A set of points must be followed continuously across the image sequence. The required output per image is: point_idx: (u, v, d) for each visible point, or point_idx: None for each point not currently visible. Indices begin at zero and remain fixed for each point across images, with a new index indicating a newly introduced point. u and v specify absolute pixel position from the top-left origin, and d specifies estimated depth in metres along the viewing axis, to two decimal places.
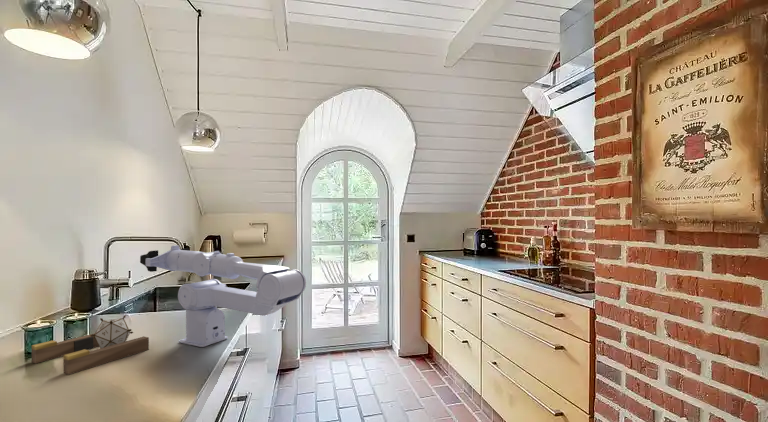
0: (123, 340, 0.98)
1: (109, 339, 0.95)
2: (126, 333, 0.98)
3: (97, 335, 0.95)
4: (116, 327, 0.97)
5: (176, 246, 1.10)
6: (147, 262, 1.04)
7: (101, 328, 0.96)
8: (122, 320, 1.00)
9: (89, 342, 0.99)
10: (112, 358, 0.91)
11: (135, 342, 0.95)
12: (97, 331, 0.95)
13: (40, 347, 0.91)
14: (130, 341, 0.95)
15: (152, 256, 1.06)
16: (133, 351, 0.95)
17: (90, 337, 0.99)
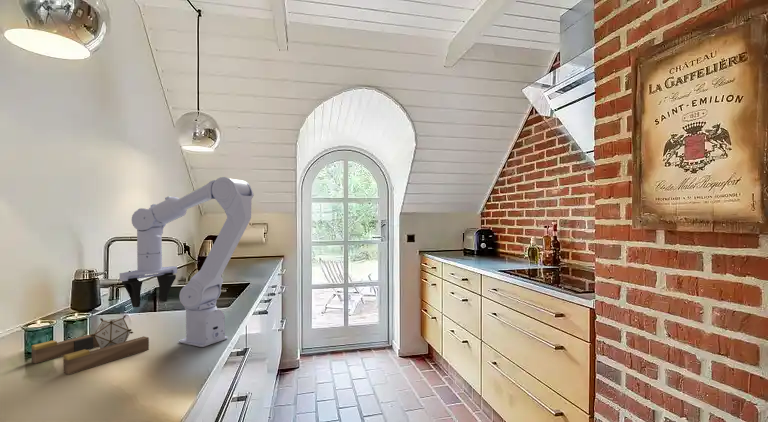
0: (123, 340, 0.98)
1: (109, 339, 0.95)
2: (126, 333, 0.98)
3: (97, 335, 0.95)
4: (116, 327, 0.97)
5: None
6: (122, 278, 1.00)
7: (101, 328, 0.96)
8: (122, 320, 1.00)
9: (89, 342, 0.99)
10: (112, 358, 0.91)
11: (135, 342, 0.95)
12: (97, 331, 0.95)
13: (40, 347, 0.91)
14: (130, 341, 0.95)
15: None
16: (133, 351, 0.95)
17: (90, 337, 0.99)
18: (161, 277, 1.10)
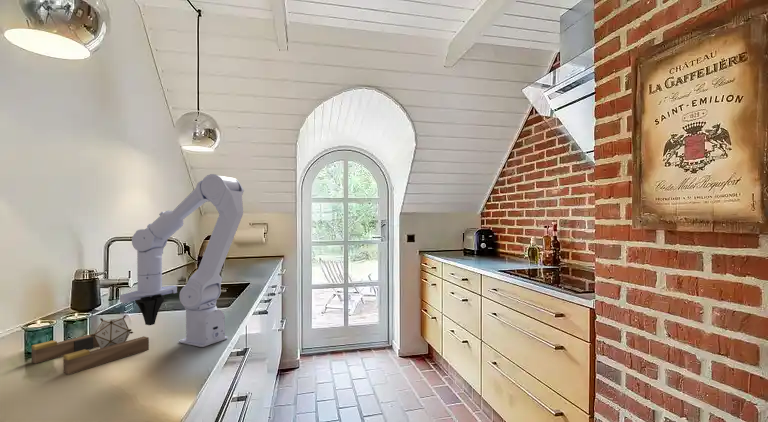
0: (123, 340, 0.98)
1: (109, 339, 0.95)
2: (126, 333, 0.98)
3: (97, 335, 0.95)
4: (116, 327, 0.97)
5: None
6: (122, 300, 1.00)
7: (101, 328, 0.96)
8: (122, 320, 1.00)
9: (89, 342, 0.99)
10: (112, 358, 0.91)
11: (135, 342, 0.95)
12: (97, 331, 0.95)
13: (40, 347, 0.91)
14: (130, 341, 0.95)
15: None
16: (133, 351, 0.95)
17: (90, 337, 0.99)
18: None
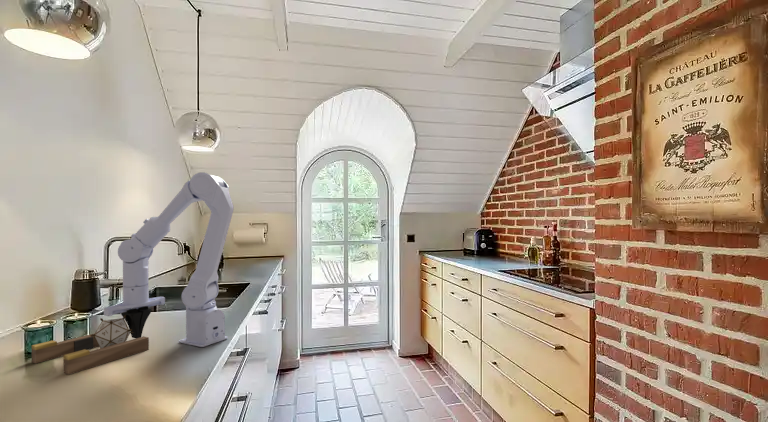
0: (123, 340, 0.98)
1: (109, 339, 0.95)
2: (126, 333, 0.98)
3: (97, 335, 0.95)
4: (116, 327, 0.97)
5: None
6: (106, 313, 0.97)
7: (101, 328, 0.96)
8: (122, 320, 1.00)
9: (89, 342, 0.99)
10: (112, 358, 0.91)
11: (135, 342, 0.95)
12: (97, 331, 0.95)
13: (40, 347, 0.91)
14: (130, 341, 0.95)
15: None
16: (133, 351, 0.95)
17: (90, 337, 0.99)
18: None
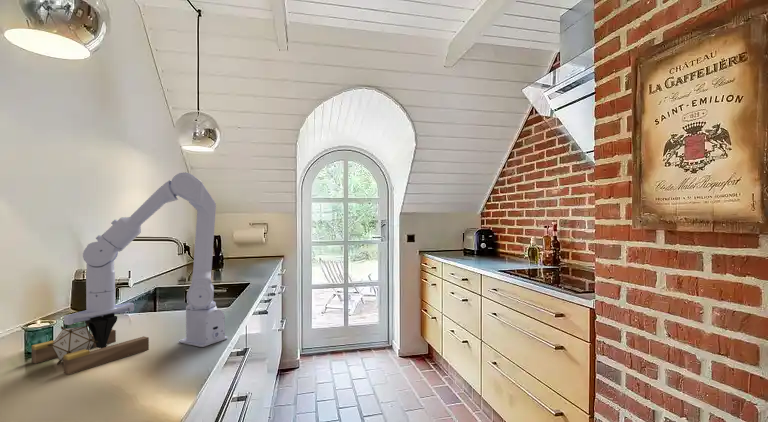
0: None
1: (67, 349, 0.88)
2: (87, 343, 0.91)
3: (55, 345, 0.88)
4: (75, 337, 0.89)
5: None
6: (66, 322, 0.90)
7: (60, 337, 0.89)
8: (84, 329, 0.92)
9: None
10: (112, 358, 0.91)
11: (135, 342, 0.95)
12: (55, 341, 0.88)
13: (40, 347, 0.91)
14: (130, 341, 0.95)
15: None
16: (133, 351, 0.95)
17: None
18: None
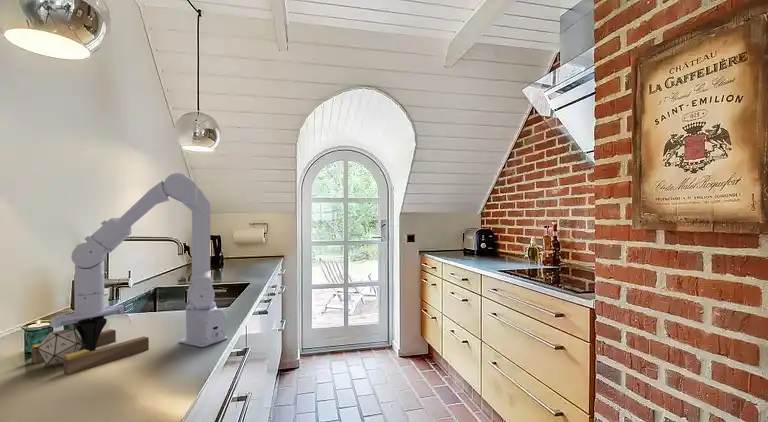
0: None
1: (52, 353, 0.85)
2: (74, 346, 0.88)
3: (40, 349, 0.86)
4: (62, 340, 0.87)
5: None
6: (54, 325, 0.88)
7: (46, 340, 0.87)
8: (72, 331, 0.90)
9: None
10: (112, 358, 0.91)
11: (135, 342, 0.95)
12: (41, 344, 0.86)
13: None
14: (130, 341, 0.95)
15: None
16: (133, 351, 0.95)
17: None
18: None
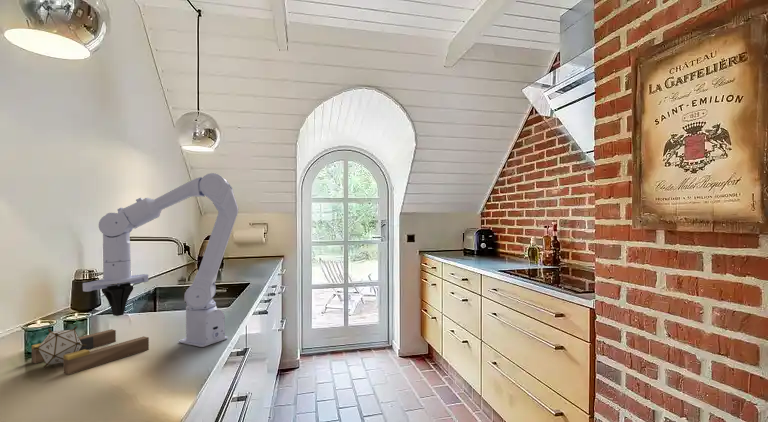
0: None
1: (52, 353, 0.85)
2: (74, 346, 0.88)
3: (40, 349, 0.86)
4: (62, 340, 0.87)
5: None
6: (85, 289, 0.93)
7: (46, 341, 0.87)
8: (72, 332, 0.90)
9: (89, 342, 0.99)
10: (112, 358, 0.91)
11: (135, 342, 0.95)
12: (41, 344, 0.86)
13: None
14: (130, 341, 0.95)
15: None
16: (133, 351, 0.95)
17: (90, 337, 0.99)
18: None
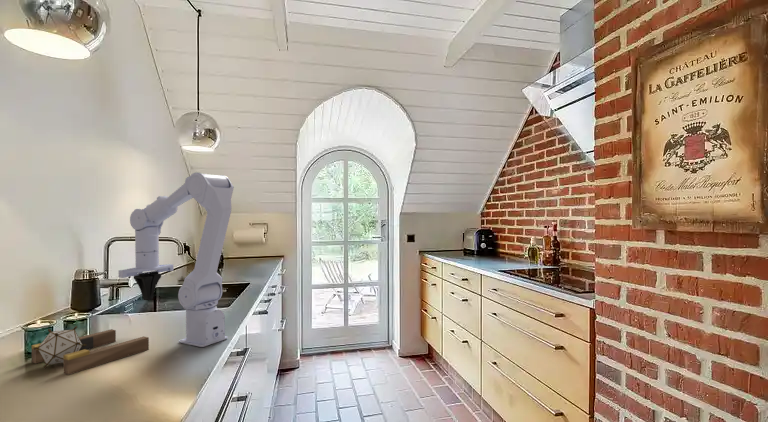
0: None
1: (52, 353, 0.85)
2: (74, 346, 0.88)
3: (40, 349, 0.86)
4: (62, 340, 0.87)
5: None
6: (121, 275, 1.06)
7: (46, 341, 0.87)
8: (72, 332, 0.90)
9: (89, 342, 0.99)
10: (112, 358, 0.91)
11: (135, 342, 0.95)
12: (41, 344, 0.86)
13: None
14: (130, 341, 0.95)
15: None
16: (133, 351, 0.95)
17: (90, 337, 0.99)
18: None
